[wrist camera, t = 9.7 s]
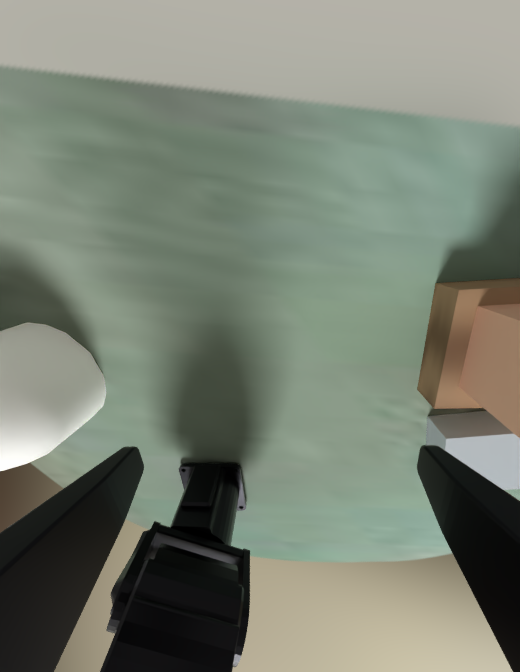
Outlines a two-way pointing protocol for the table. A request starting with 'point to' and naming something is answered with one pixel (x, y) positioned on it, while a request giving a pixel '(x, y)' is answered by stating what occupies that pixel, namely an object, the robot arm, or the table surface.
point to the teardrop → (43, 391)
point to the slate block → (479, 445)
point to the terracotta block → (495, 363)
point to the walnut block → (456, 336)
